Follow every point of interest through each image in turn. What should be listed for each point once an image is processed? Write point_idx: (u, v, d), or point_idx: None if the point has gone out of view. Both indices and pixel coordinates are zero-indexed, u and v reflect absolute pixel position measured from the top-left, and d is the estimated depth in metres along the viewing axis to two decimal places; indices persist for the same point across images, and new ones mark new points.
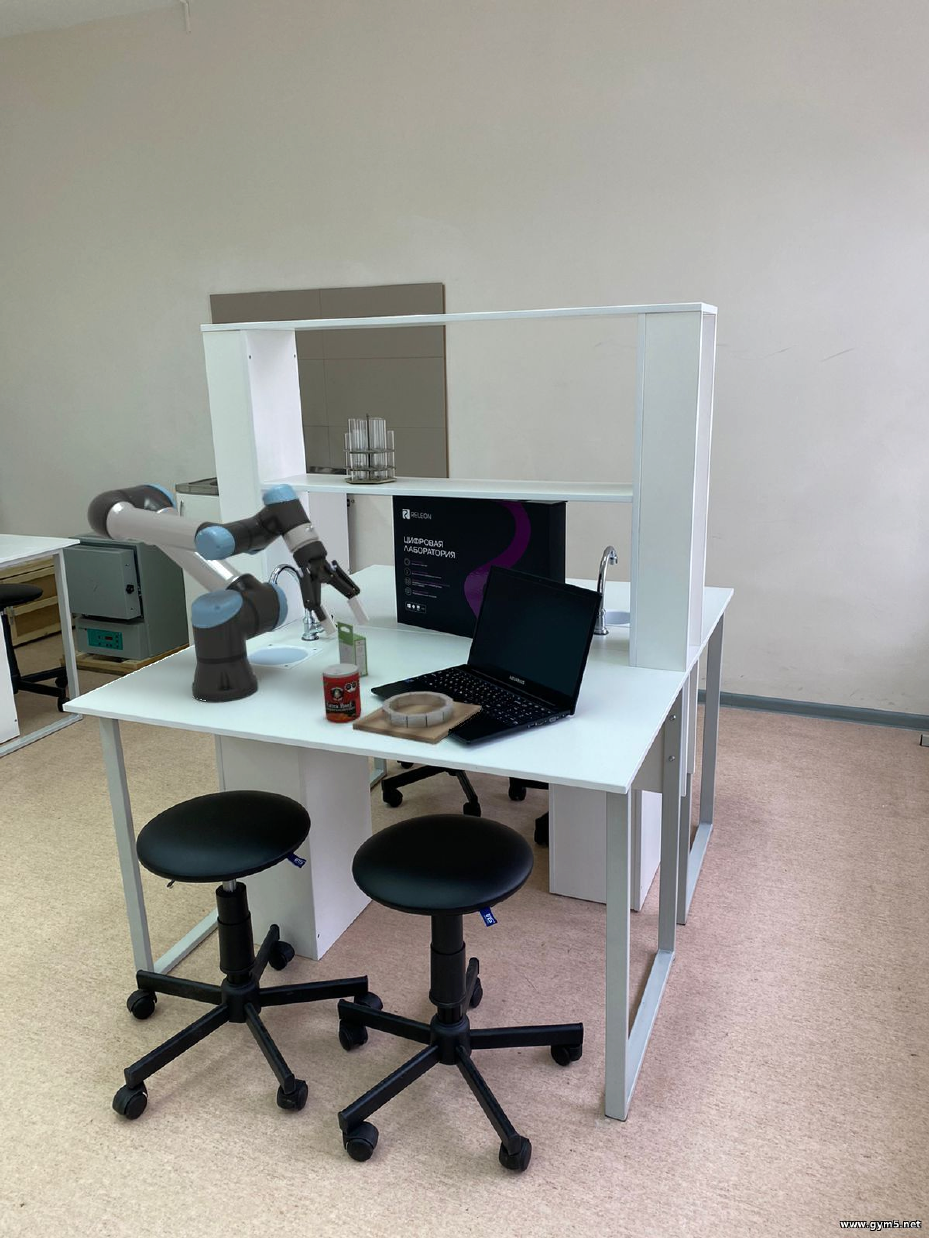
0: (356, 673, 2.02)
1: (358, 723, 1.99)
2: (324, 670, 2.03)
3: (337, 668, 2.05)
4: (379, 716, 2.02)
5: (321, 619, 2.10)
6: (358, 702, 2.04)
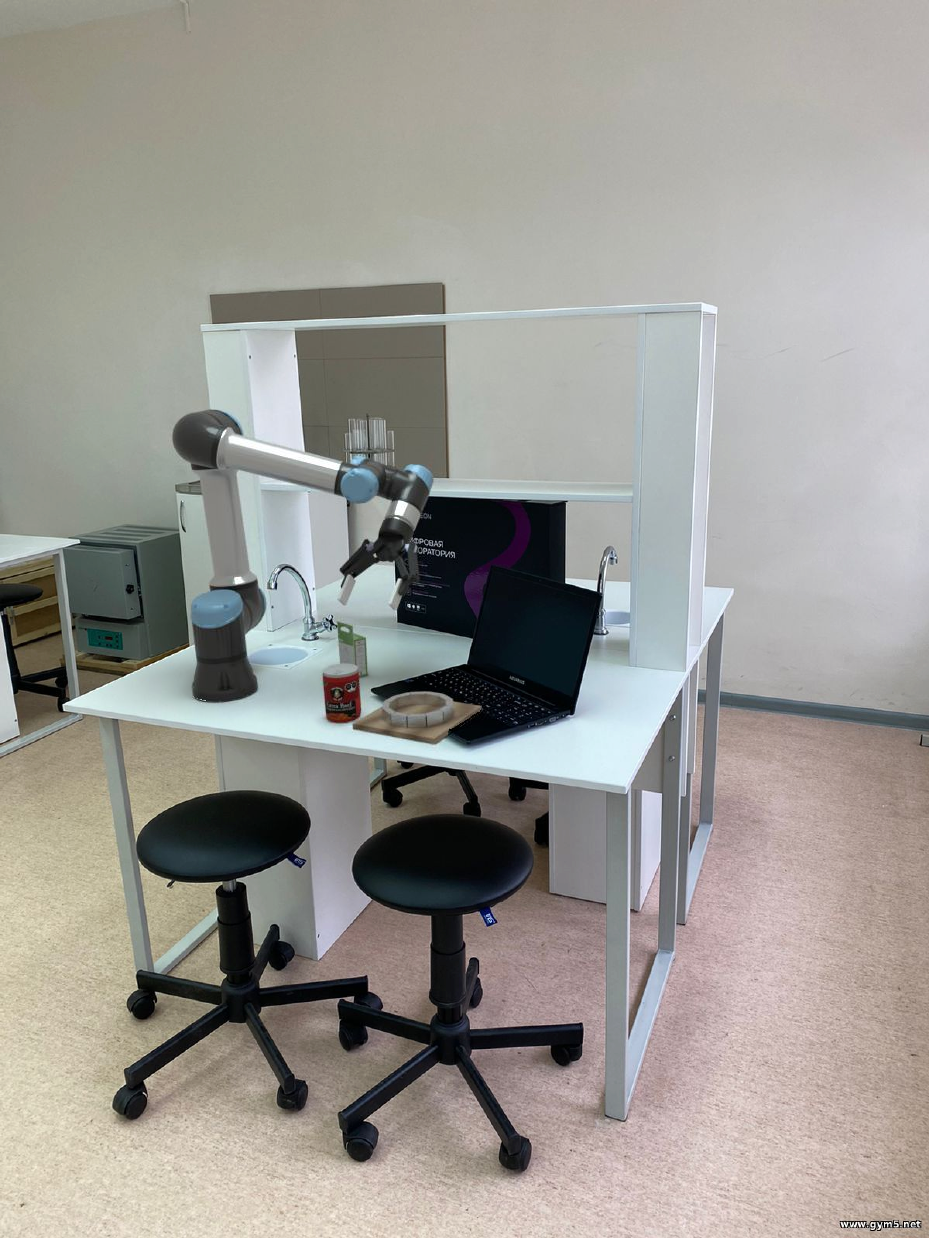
0: (356, 673, 2.02)
1: (358, 723, 1.99)
2: (324, 670, 2.03)
3: (337, 668, 2.05)
4: (379, 716, 2.02)
5: (403, 593, 2.06)
6: (358, 702, 2.04)
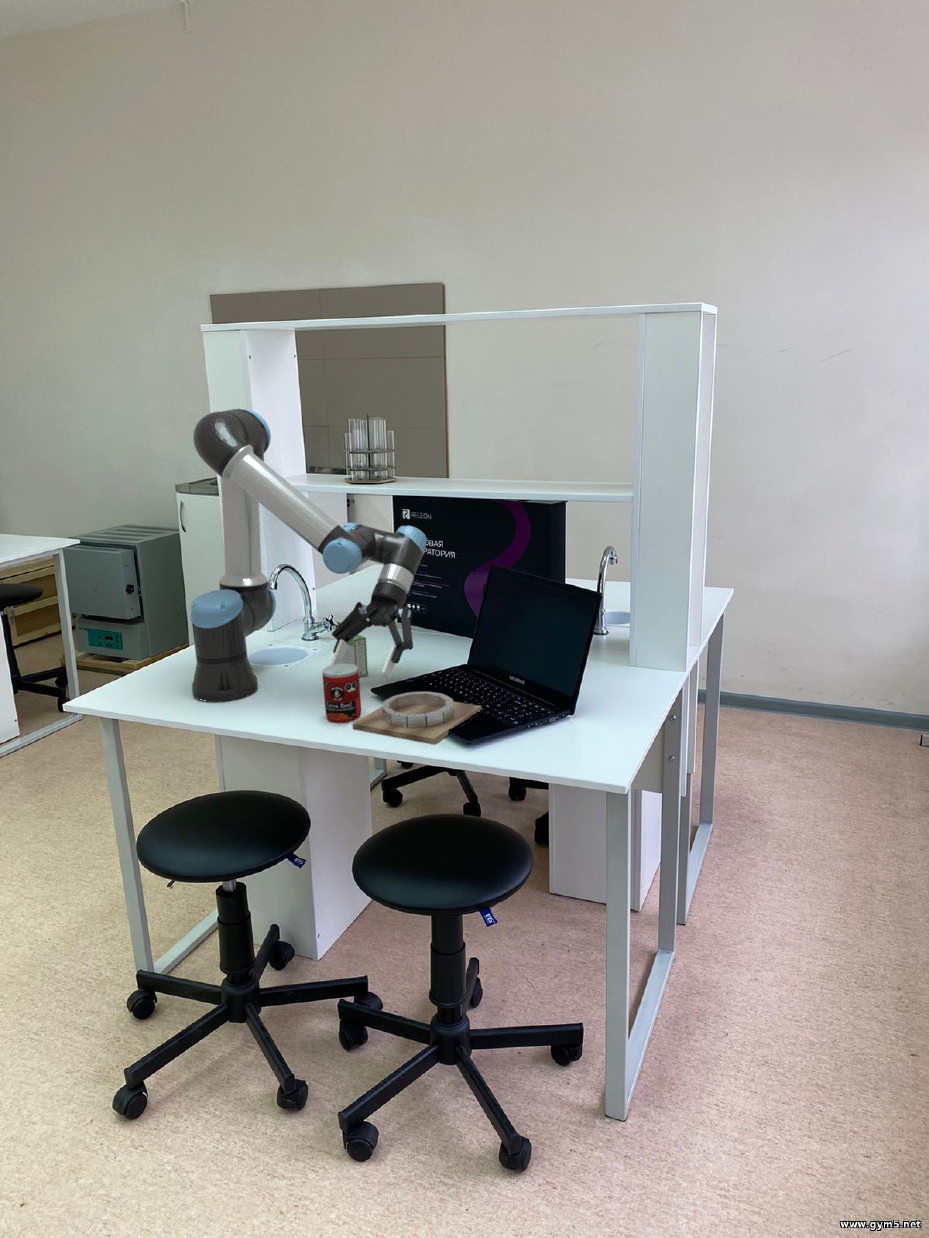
0: (356, 673, 2.02)
1: (358, 723, 1.99)
2: (324, 670, 2.03)
3: (337, 668, 2.05)
4: (379, 716, 2.02)
5: (397, 661, 2.05)
6: (358, 702, 2.04)
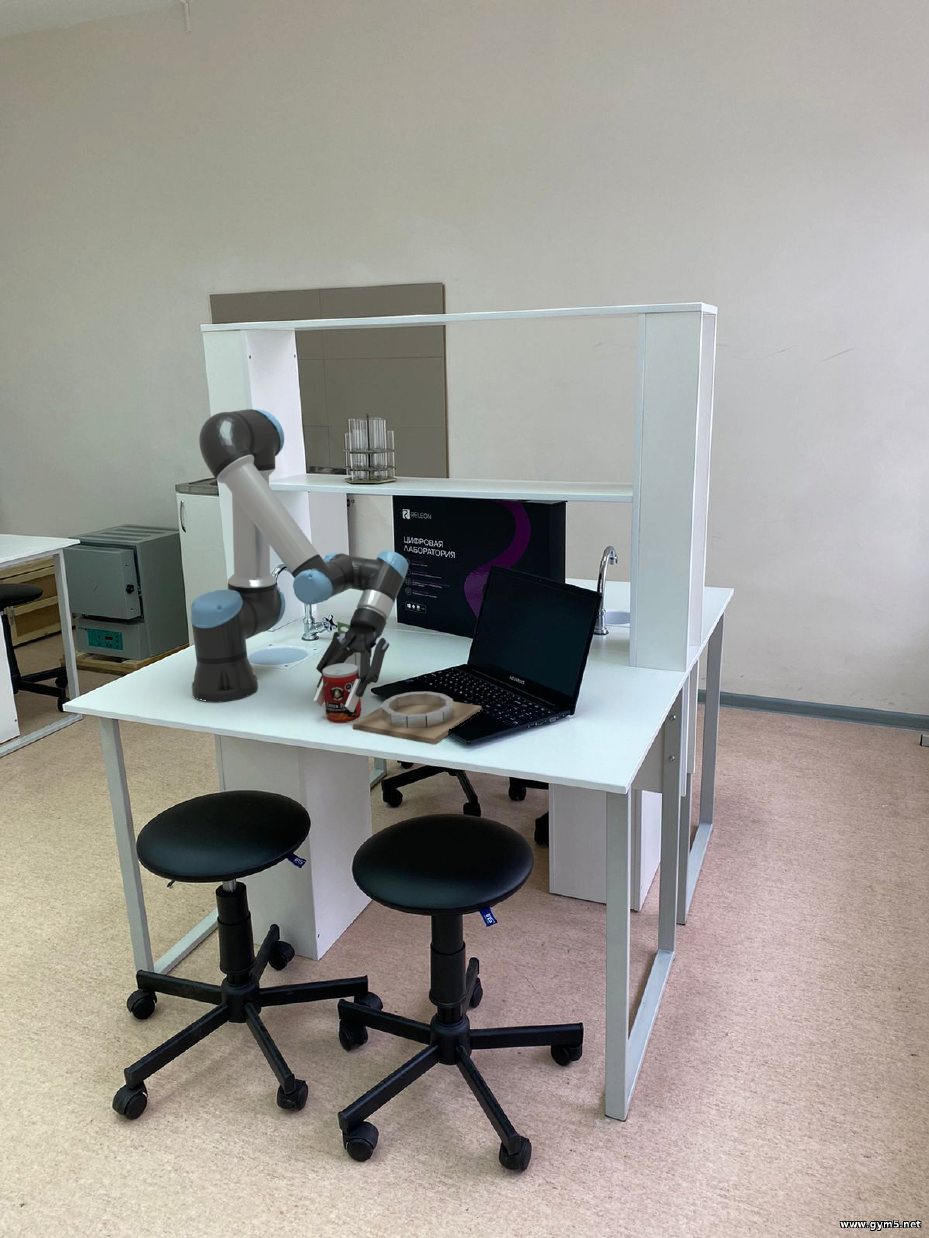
0: (356, 673, 2.02)
1: (358, 723, 1.99)
2: (324, 670, 2.03)
3: (337, 668, 2.05)
4: (379, 716, 2.02)
5: (361, 694, 2.01)
6: (358, 702, 2.04)
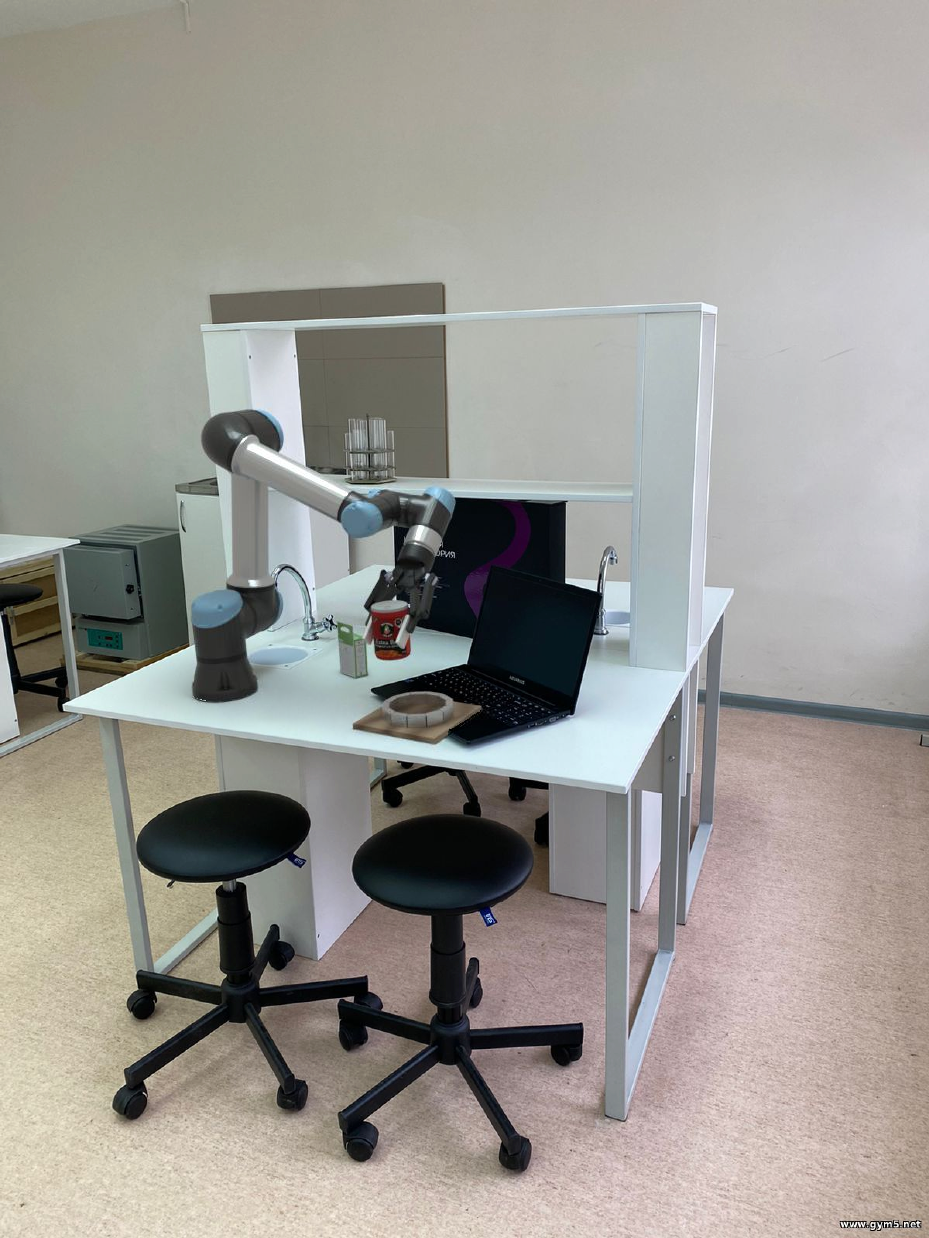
0: (406, 608, 1.96)
1: (358, 723, 1.99)
2: (373, 606, 1.96)
3: (386, 605, 1.98)
4: (379, 716, 2.02)
5: (411, 630, 1.95)
6: (408, 639, 1.97)
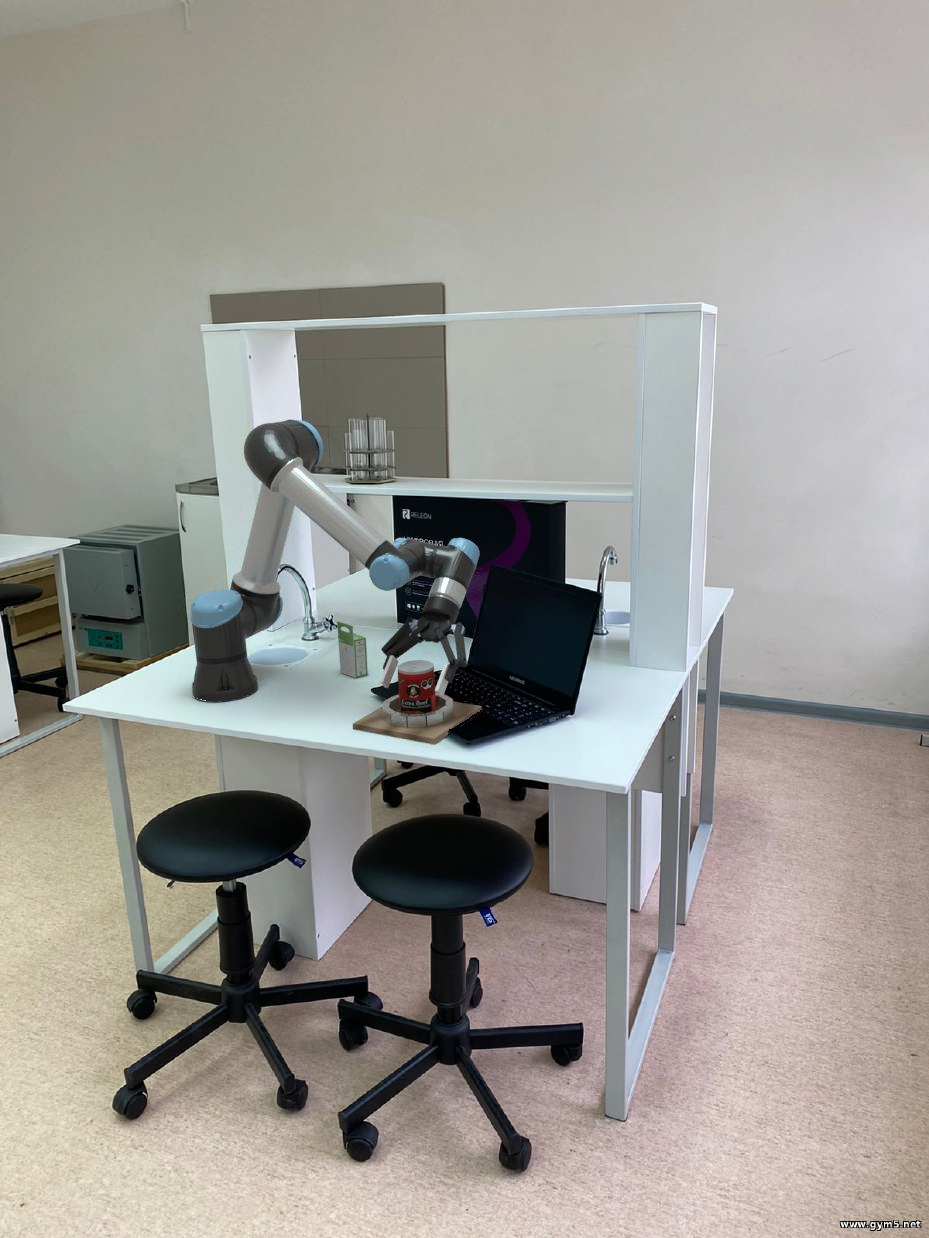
0: (432, 670, 1.98)
1: (358, 723, 1.99)
2: (399, 667, 1.99)
3: (412, 665, 2.01)
4: (379, 716, 2.02)
5: (450, 679, 1.96)
6: (433, 699, 2.00)
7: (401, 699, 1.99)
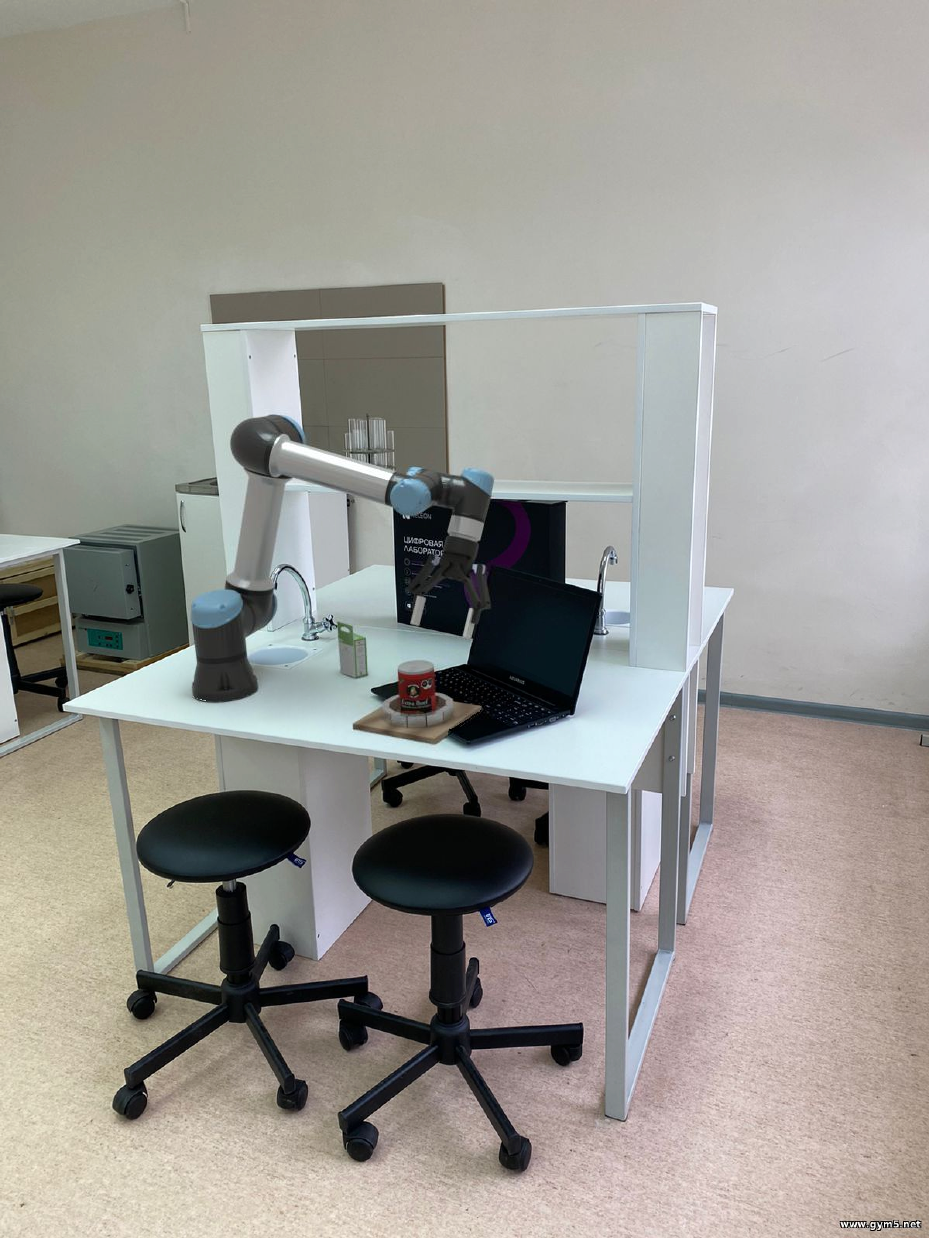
0: (432, 670, 1.98)
1: (358, 723, 1.99)
2: (399, 667, 1.99)
3: (412, 665, 2.01)
4: (379, 716, 2.02)
5: (476, 623, 2.07)
6: (433, 699, 2.00)
7: (401, 699, 1.99)
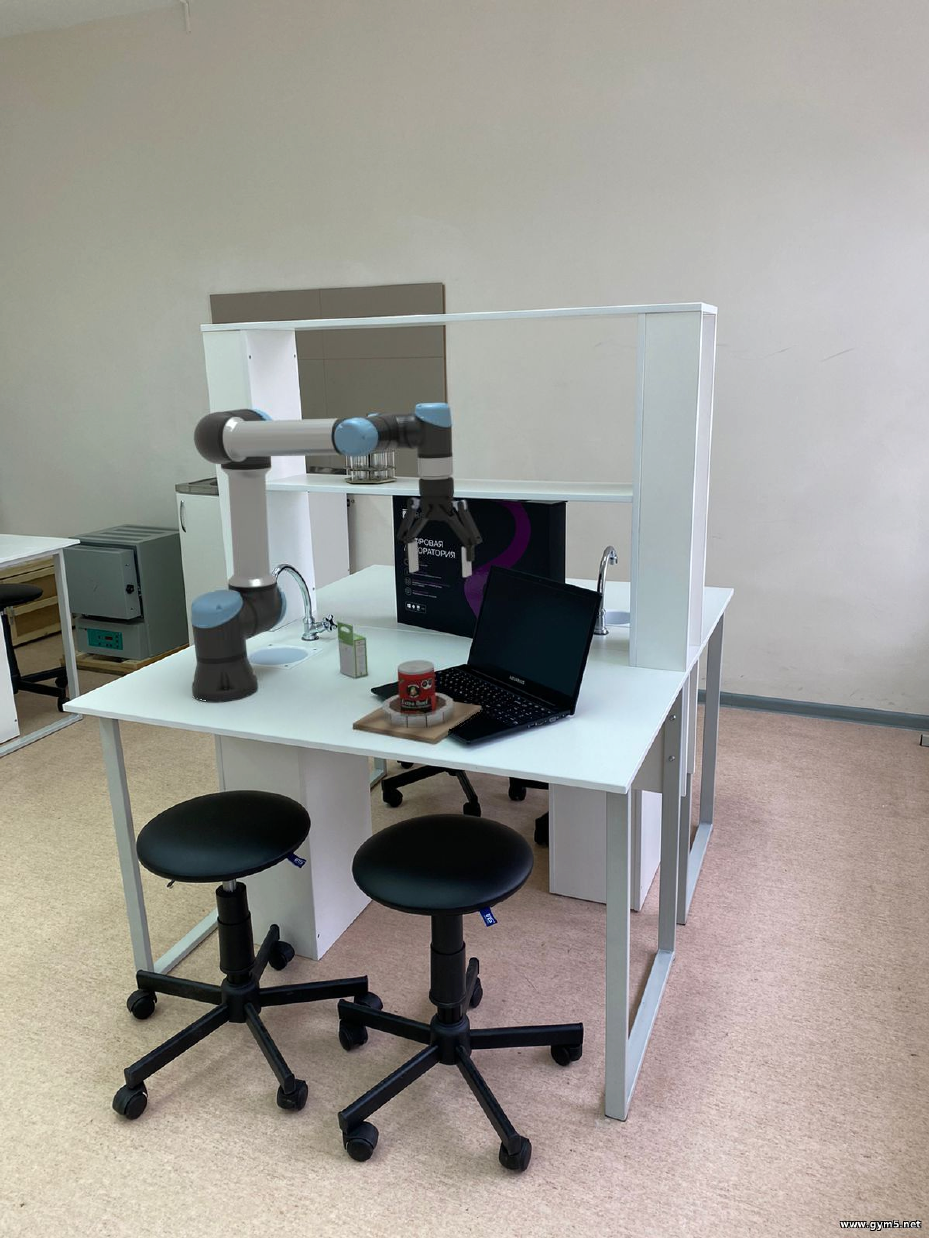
0: (432, 670, 1.98)
1: (358, 723, 1.99)
2: (399, 667, 1.99)
3: (412, 665, 2.01)
4: (379, 716, 2.02)
5: (472, 559, 2.04)
6: (433, 699, 2.00)
7: (401, 699, 1.99)
